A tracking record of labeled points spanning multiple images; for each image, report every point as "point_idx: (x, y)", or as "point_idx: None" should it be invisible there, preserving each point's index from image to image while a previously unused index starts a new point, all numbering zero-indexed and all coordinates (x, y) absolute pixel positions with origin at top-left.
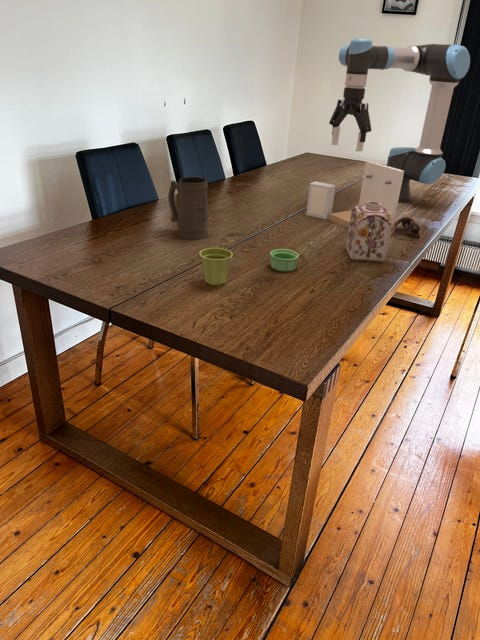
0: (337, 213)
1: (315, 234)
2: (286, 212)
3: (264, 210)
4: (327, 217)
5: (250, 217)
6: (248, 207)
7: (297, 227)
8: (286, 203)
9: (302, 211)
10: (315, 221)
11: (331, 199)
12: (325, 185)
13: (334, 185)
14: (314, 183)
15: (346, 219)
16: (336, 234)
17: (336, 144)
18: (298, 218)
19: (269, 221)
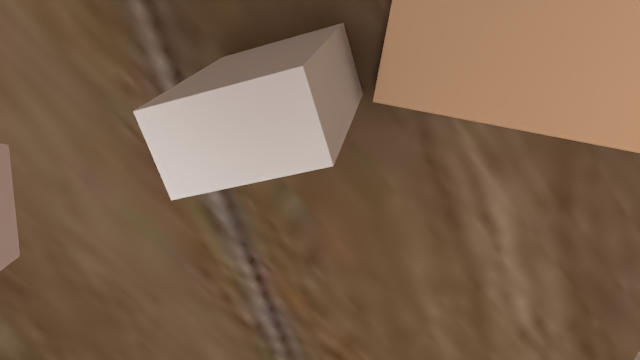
0: (399, 52)
1: (479, 321)
2: None
3: (97, 232)
4: (358, 84)
5: (157, 344)
6: (34, 253)
7: (362, 305)
8: (31, 44)
9: None
10: (351, 172)
11: (335, 87)
12: (270, 152)
13: (307, 87)
14: (187, 175)
15: (512, 109)
16: (552, 252)
17: (8, 182)
18: (269, 202)
19: (236, 329)
